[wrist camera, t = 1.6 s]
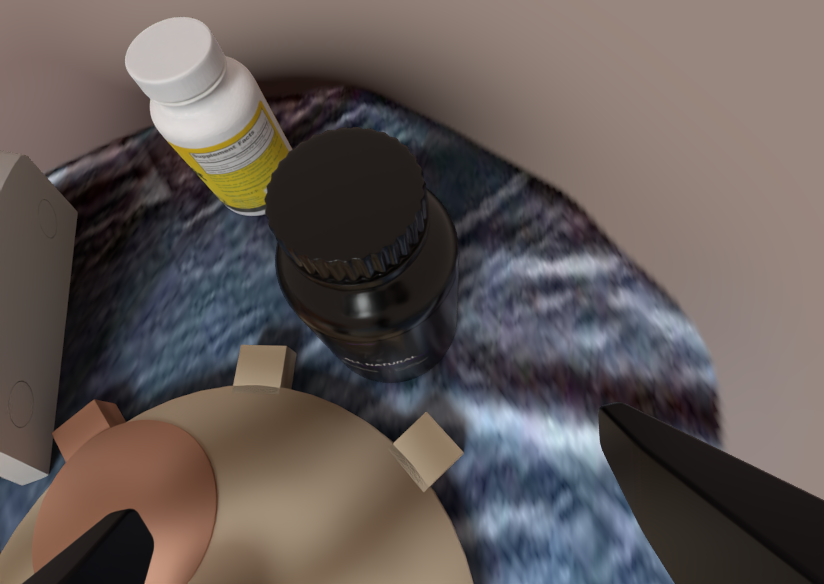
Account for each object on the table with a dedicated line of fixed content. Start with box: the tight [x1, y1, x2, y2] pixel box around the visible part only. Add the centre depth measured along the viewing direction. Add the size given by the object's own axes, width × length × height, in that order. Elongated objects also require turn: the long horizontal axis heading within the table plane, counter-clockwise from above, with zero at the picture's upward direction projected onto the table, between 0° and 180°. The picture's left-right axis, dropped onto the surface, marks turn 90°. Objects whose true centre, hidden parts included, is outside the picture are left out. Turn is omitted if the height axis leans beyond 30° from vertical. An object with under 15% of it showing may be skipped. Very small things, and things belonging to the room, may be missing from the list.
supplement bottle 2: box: [264, 127, 459, 383], centre depth 18 cm, size 7×7×12 cm
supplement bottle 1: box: [125, 17, 293, 216], centre depth 24 cm, size 5×5×10 cm
